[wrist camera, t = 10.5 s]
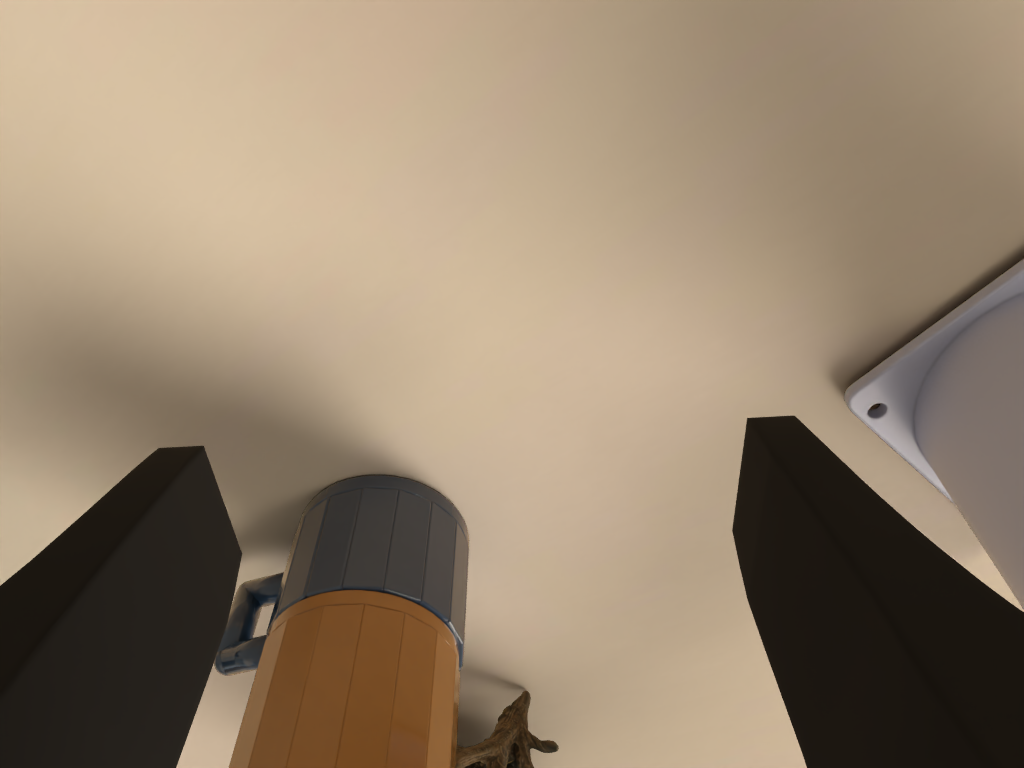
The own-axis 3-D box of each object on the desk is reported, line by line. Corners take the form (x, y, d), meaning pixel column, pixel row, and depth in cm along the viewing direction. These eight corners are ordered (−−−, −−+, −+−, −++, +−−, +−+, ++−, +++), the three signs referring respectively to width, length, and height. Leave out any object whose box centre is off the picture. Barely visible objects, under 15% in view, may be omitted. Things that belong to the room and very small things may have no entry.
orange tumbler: (498, 647, 22) (497, 861, 18) (383, 731, 25) (356, 940, 20) (339, 559, 20) (290, 775, 16) (229, 659, 23) (159, 873, 18)
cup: (432, 455, 24) (419, 567, 21) (492, 573, 27) (490, 690, 24) (204, 515, 26) (155, 631, 22) (285, 622, 29) (253, 739, 25)
